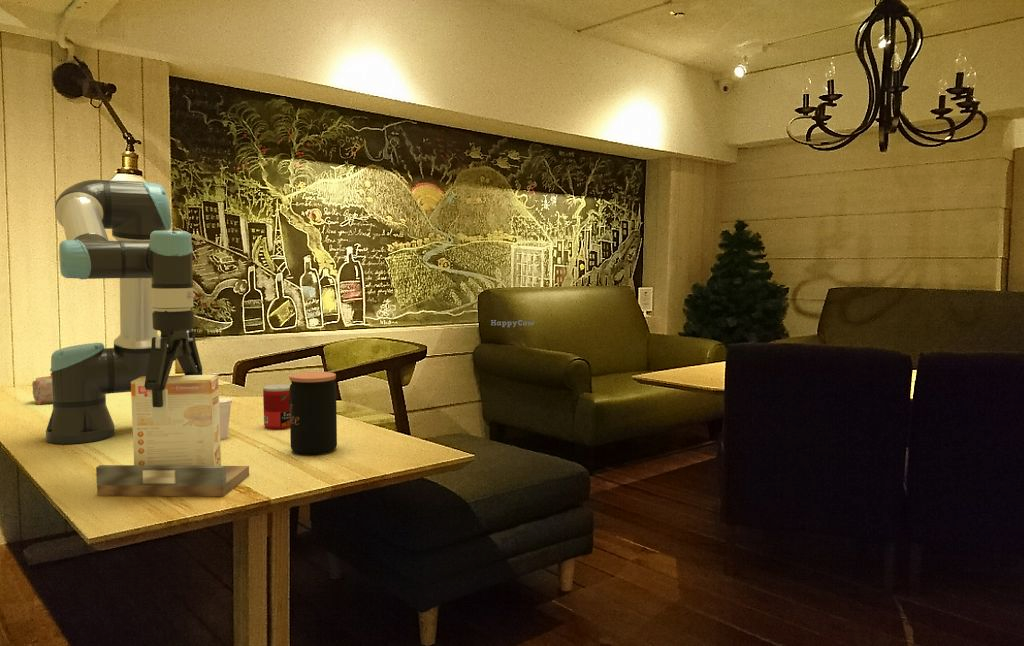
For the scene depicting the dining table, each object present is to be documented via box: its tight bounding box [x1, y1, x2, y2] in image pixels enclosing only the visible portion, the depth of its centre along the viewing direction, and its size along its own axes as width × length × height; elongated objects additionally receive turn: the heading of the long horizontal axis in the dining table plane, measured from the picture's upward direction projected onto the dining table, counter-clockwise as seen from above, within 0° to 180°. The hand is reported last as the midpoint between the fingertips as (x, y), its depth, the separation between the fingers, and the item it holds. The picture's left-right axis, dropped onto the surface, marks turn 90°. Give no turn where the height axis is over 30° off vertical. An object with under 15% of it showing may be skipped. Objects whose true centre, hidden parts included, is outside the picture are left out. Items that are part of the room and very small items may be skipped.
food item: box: [31, 372, 53, 406], centre depth 237 cm, size 14×8×10 cm, turn 126°
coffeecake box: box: [130, 374, 222, 466], centre depth 151 cm, size 15×7×20 cm, turn 100°
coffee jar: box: [289, 371, 338, 456], centre depth 177 cm, size 11×11×18 cm
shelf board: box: [95, 464, 250, 497], centre depth 150 cm, size 24×14×6 cm, turn 90°
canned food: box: [262, 383, 291, 431], centre depth 202 cm, size 8×8×11 cm
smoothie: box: [219, 397, 233, 441], centre depth 189 cm, size 6×6×14 cm
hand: (176, 416), depth 150 cm, fingers open, 13 cm apart
